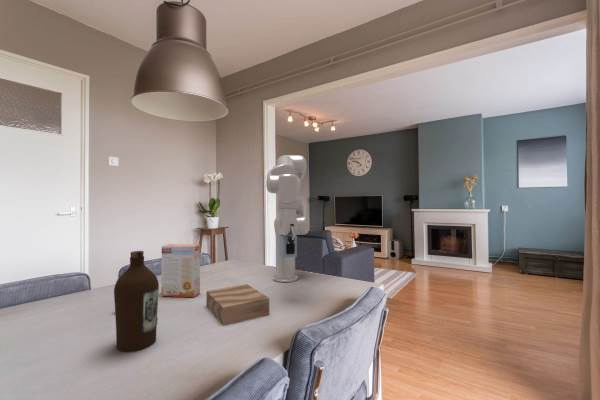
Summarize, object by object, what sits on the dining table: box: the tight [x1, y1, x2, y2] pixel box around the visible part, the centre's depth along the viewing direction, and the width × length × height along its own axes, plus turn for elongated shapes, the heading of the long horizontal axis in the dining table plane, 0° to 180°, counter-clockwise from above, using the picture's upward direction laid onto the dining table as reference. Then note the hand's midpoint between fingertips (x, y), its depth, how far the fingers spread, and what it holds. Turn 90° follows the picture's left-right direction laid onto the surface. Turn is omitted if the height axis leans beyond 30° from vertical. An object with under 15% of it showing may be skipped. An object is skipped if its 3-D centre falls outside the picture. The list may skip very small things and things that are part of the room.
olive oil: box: [113, 250, 160, 353], centre depth 79 cm, size 11×11×25 cm
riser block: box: [205, 283, 270, 326], centre depth 103 cm, size 20×16×6 cm
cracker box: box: [161, 243, 201, 298], centre depth 120 cm, size 14×6×21 cm, turn 84°
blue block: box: [279, 235, 298, 258], centre depth 112 cm, size 6×6×8 cm
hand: (287, 252), depth 112 cm, fingers closed on blue block, 5 cm apart
